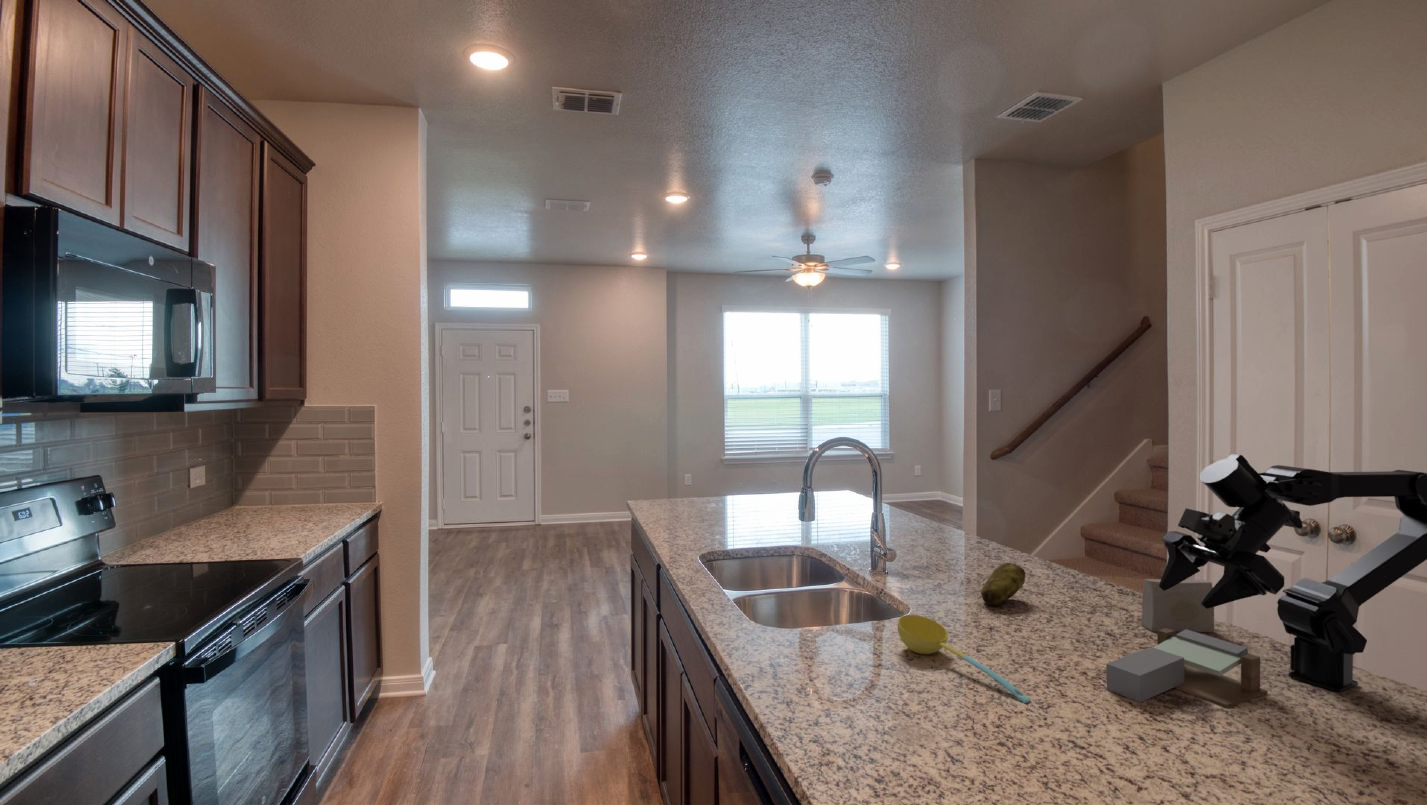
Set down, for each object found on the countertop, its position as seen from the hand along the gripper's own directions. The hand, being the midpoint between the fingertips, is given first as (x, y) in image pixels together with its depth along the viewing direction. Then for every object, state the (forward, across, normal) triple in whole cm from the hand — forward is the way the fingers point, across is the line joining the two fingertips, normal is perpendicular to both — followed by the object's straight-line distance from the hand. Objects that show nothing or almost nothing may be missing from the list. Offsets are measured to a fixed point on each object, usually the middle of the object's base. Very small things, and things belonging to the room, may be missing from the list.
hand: (1181, 597), depth 105 cm
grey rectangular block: (+9, -1, +7) cm, 11 cm away
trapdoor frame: (+8, -1, +12) cm, 14 cm away
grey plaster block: (-2, -23, +22) cm, 32 cm away
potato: (+17, -41, +3) cm, 44 cm away
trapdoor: (+4, -1, +10) cm, 11 cm away
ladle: (+34, -5, -14) cm, 37 cm away
